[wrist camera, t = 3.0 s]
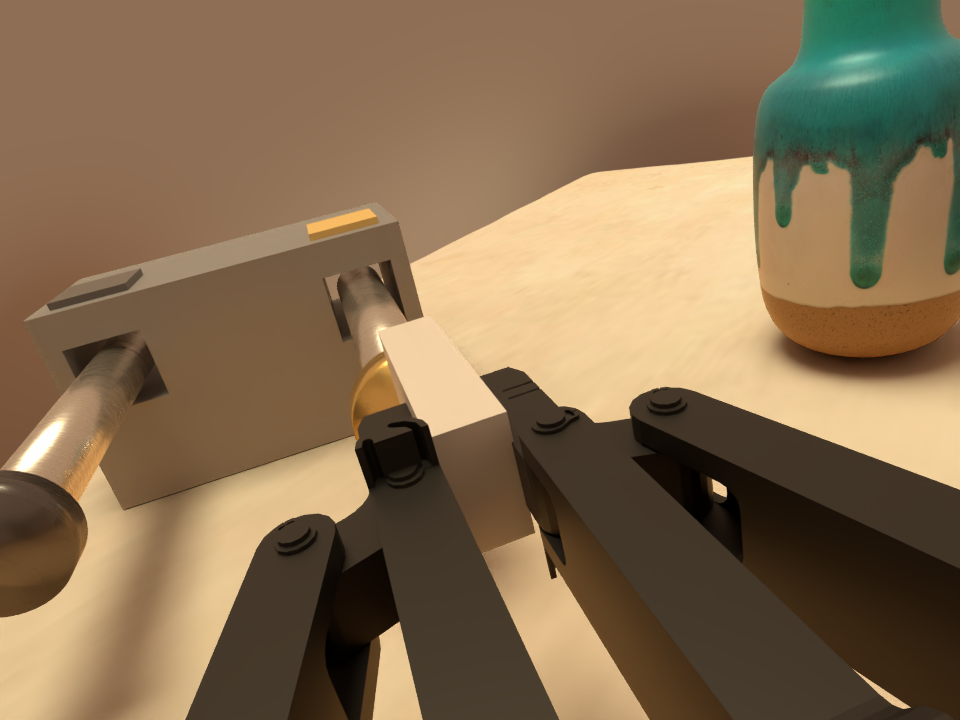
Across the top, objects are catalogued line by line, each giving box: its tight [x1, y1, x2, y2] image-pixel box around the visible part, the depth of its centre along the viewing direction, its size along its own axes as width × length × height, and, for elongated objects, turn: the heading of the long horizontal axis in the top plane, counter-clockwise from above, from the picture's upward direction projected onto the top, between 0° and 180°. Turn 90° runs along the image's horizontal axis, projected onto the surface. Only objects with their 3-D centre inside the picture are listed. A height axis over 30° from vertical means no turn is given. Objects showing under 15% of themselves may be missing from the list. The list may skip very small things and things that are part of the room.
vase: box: [753, 0, 960, 357], centre depth 33 cm, size 11×11×19 cm
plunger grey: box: [0, 329, 155, 617], centre depth 29 cm, size 5×20×5 cm, turn 17°
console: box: [23, 202, 423, 510], centre depth 41 cm, size 20×10×12 cm, turn 107°
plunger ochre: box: [337, 266, 407, 441], centre depth 32 cm, size 5×20×5 cm, turn 17°
